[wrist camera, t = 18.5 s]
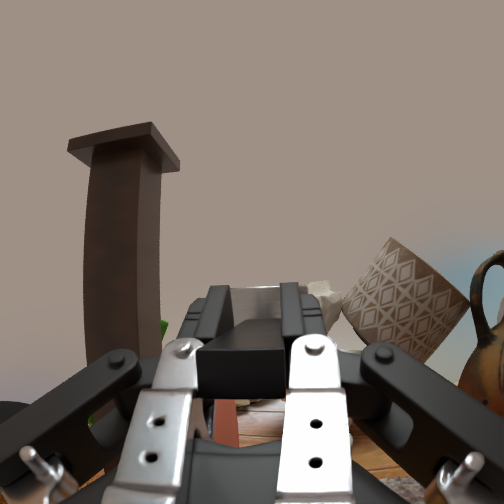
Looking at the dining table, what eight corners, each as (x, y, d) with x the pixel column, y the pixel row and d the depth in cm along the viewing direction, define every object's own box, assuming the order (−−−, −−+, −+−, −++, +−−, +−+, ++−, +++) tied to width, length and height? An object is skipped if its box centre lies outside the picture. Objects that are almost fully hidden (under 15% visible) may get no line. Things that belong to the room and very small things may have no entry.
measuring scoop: (306, 328, 23) (304, 287, 23) (364, 393, 7) (361, 261, 7) (228, 331, 23) (227, 290, 24) (127, 393, 7) (121, 272, 7)
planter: (316, 300, 55) (374, 223, 51) (364, 316, 68) (410, 256, 64) (388, 381, 41) (463, 292, 37) (422, 377, 54) (476, 311, 50)
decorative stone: (284, 340, 68) (305, 273, 68) (324, 352, 66) (346, 285, 65) (259, 373, 46) (289, 277, 46) (317, 392, 44) (351, 295, 43)
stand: (200, 525, 25) (180, 160, 31) (182, 570, 17) (151, 120, 23) (133, 514, 26) (109, 170, 31) (105, 551, 18) (68, 138, 23)
